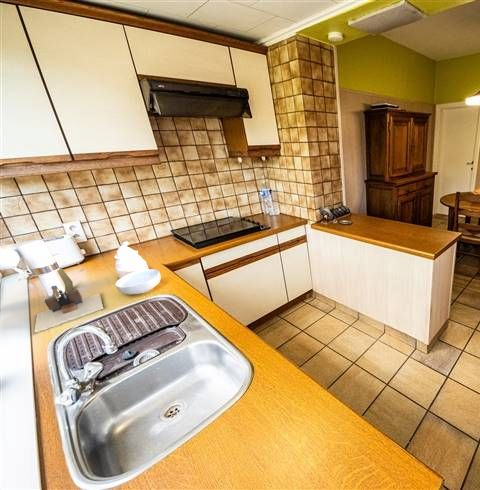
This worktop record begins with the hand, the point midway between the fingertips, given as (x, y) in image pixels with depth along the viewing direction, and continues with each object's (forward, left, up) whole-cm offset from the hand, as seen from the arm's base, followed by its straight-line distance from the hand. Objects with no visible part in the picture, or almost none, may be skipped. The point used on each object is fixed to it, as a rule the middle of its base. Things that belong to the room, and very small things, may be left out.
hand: (67, 304), depth 118 cm
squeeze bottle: (-1, +22, -2) cm, 22 cm away
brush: (0, 0, -1) cm, 1 cm away
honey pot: (+26, +17, -2) cm, 31 cm away
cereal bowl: (+26, -9, -2) cm, 27 cm away
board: (+1, -5, -2) cm, 6 cm away
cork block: (+1, -5, -1) cm, 5 cm away
